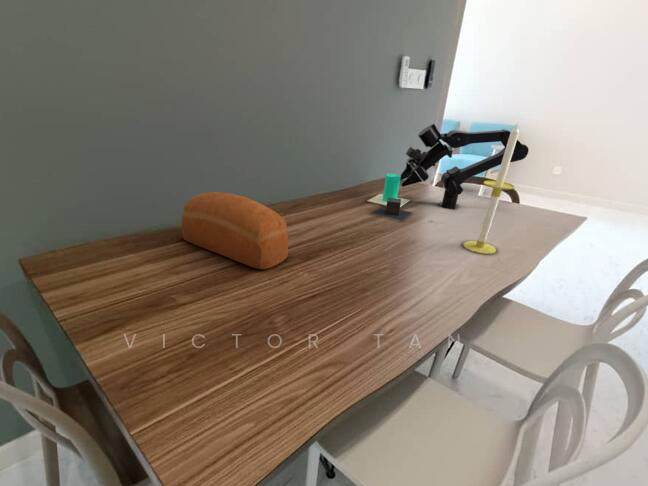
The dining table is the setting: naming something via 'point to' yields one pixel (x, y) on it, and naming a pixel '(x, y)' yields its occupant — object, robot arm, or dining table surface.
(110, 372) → the dining table surface
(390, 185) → the candle
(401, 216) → the charcoal mat
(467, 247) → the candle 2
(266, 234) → the bread
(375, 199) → the cream pad
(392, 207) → the charcoal block
